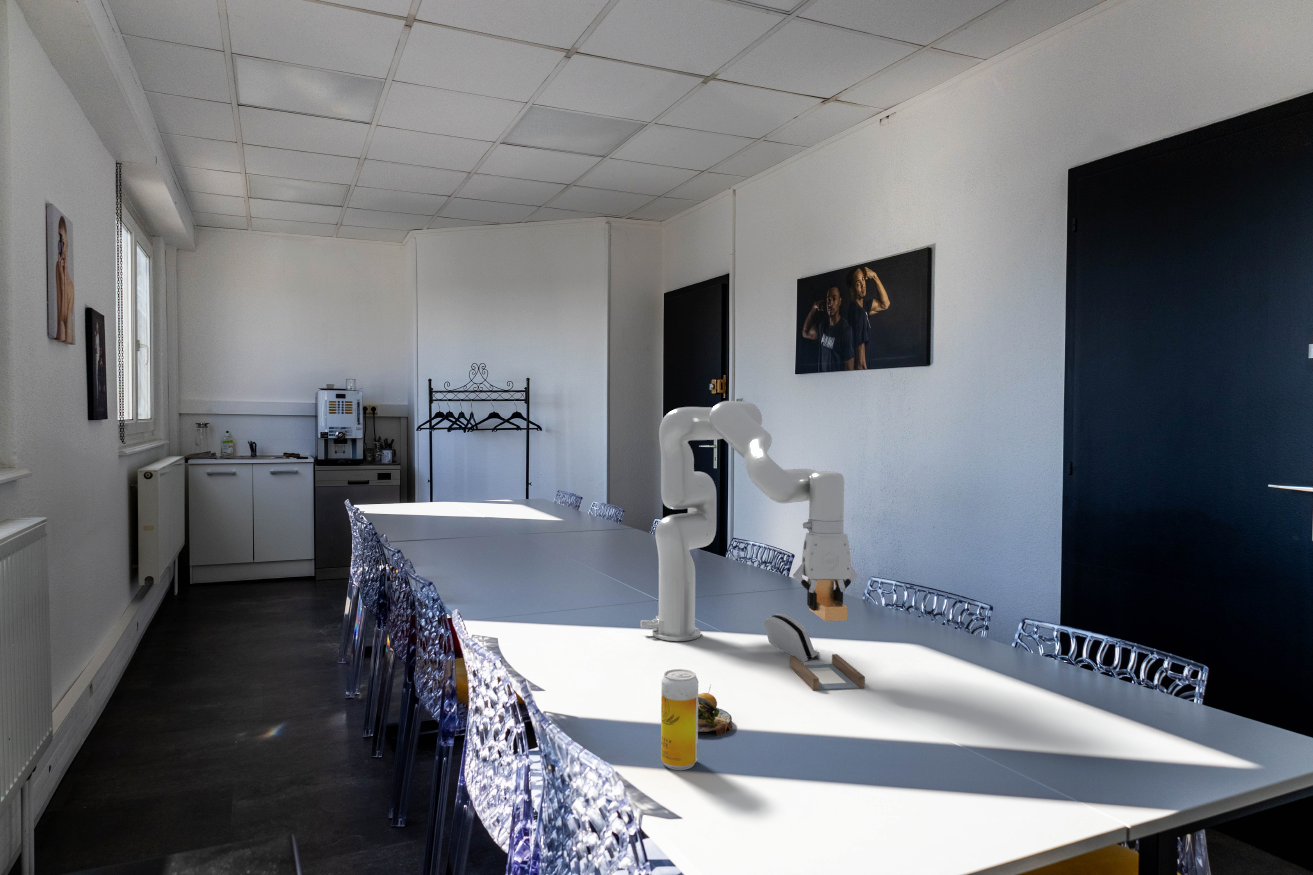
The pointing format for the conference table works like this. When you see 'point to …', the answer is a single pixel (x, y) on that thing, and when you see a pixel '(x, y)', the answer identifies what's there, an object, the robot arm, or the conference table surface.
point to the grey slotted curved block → (790, 636)
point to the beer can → (679, 719)
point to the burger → (712, 715)
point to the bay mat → (831, 677)
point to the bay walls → (836, 661)
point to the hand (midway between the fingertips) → (825, 607)
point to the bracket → (828, 602)
